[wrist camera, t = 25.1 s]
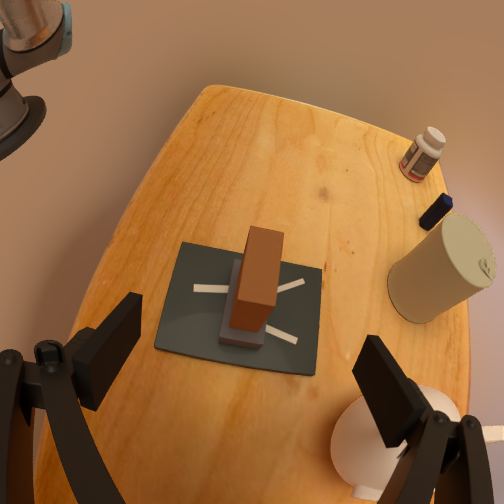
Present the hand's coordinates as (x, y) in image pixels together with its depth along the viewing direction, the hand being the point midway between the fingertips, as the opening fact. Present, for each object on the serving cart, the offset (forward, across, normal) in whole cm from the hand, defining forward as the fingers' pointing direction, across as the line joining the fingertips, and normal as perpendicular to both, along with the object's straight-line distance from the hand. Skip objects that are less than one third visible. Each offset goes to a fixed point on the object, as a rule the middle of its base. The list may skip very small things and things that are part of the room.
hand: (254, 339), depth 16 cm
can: (+18, +22, -1) cm, 29 cm away
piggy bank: (+5, +15, -14) cm, 21 cm away
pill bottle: (+35, +26, +16) cm, 47 cm away
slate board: (+14, 0, -5) cm, 15 cm away
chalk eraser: (+13, 0, -4) cm, 14 cm away
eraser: (+27, +26, +7) cm, 38 cm away
